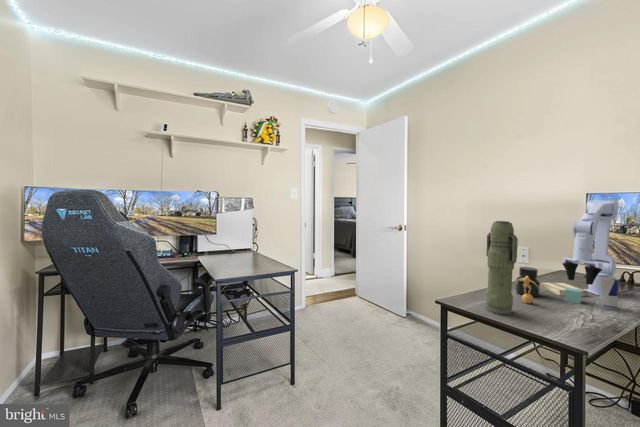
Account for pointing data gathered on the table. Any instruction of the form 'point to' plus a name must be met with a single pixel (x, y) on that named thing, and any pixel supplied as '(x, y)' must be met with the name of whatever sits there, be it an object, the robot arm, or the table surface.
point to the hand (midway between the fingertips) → (579, 282)
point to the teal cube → (572, 295)
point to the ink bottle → (532, 276)
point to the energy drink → (609, 292)
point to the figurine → (526, 297)
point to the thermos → (500, 267)
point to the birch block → (560, 288)
